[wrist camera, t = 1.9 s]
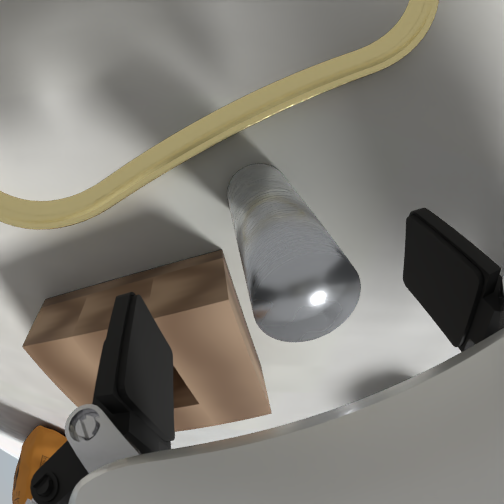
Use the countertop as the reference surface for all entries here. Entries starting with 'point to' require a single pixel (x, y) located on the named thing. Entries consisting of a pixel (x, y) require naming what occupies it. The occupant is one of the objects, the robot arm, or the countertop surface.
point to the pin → (288, 258)
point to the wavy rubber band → (224, 125)
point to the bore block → (175, 332)
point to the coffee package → (34, 459)
